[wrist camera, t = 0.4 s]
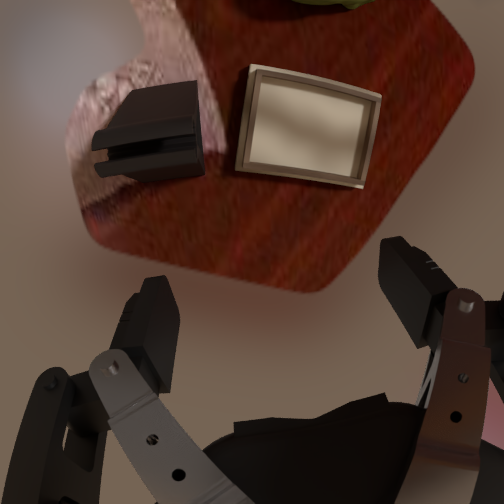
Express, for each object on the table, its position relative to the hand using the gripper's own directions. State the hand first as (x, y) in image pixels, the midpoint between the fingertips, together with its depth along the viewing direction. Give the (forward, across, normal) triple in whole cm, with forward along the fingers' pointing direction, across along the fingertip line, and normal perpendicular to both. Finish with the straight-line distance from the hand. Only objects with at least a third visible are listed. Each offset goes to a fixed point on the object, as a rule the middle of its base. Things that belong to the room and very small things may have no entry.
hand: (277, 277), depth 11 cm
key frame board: (+20, -6, -2) cm, 21 cm away
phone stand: (+20, +7, -4) cm, 21 cm away
